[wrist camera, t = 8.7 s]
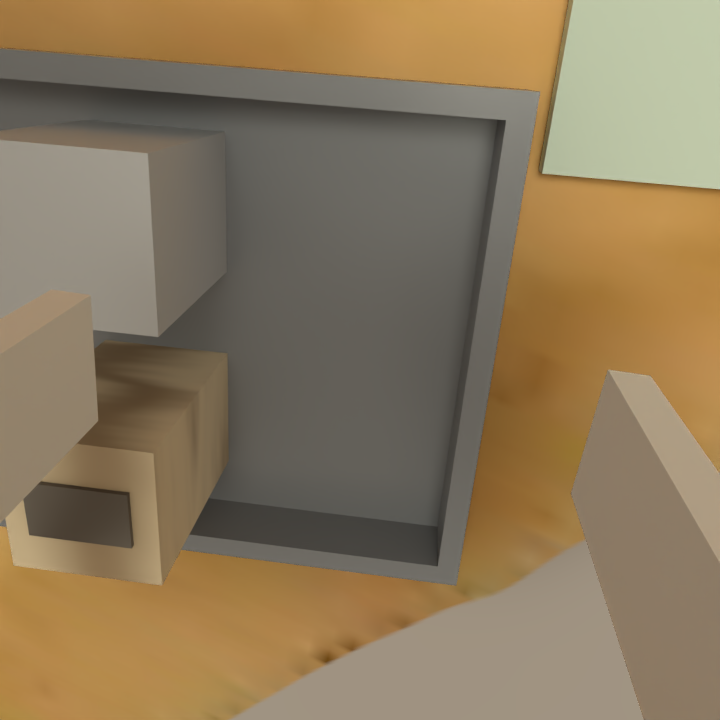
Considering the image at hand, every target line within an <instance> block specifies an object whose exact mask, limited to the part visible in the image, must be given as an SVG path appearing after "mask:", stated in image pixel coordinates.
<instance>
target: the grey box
mask: <svg viewBox="0 0 720 720" xmlns="http://www.w3.org/2000/svg"><path fill="white" fill-rule="evenodd" d="M226 272H227V258H226V166H225V132H222V131H211V130H199V129H188V128H176V127H164V126H153V125H141V124H130V123H118V122H107V121H95V120H78V121H71V122H63V123H56V124H48V125H41V126H33V127H25V128H18V129H10V130H3V131H0V319H1V318H3V317H4V316H6V315H8V314H10V313H11V312H13V311H15V310H17V309H18V308H20V307H22V306H24V305H25V304H27V303H29V302H31V301H32V300H34V299H36V298H37V297H39V296H41V295H43V294H44V293H46V292H48V291H50V290H51V289H52V290H59V291H66V292H73V293H80V294H87V295H91V309H92V326H93V330H98V331H107V332H117V333H126V334H135V335H144V336H153V337H159V336H160V335H161V334H162V333H163V332H164V331H165V330H166V329H167V328H168V327H169V326H170V325H172V324H173V323H174V322H175V321H176V320H177V319H178V318H179V317H180V316H181V315H182V314H183V313H184V312H185V311H186V310H187V309H188V308H189V307H190V306H191V305H193V304H194V303H195V302H196V301H197V300H198V299H199V298H200V297H201V296H202V295H203V294H204V293H205V292H206V291H207V290H208V289H209V288H210V287H211V286H212V285H214V284H215V283H216V282H217V281H218V280H219V279H220V278H221V277H222V276H223V275H224V274H225V273H226Z"/></svg>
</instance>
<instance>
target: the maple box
mask: <svg viewBox="0 0 720 720" xmlns="http://www.w3.org/2000/svg"><path fill="white" fill-rule="evenodd" d="M94 359H95V375H96V391H97V408H98V422H97V423H96V424H95V425H94V426H93V427H92V428H91V429H90V430H89V431H88V432H87V433H86V434H85V435H84V436H83V437H82V438H81V439H80V441H79V442H78V443H77V444H76V445H75V446H74V447H73V448H72V449H71V450H70V451H69V452H68V453H67V454H66V455H65V456H64V457H63V458H62V459H61V460H60V461H59V462H58V464H57V465H56V466H55V467H54V468H53V469H52V470H51V471H50V472H49V473H48V474H47V475H46V476H45V477H44V478H43V479H42V480H41V481H40V482H39V483H38V484H37V485H36V487H35V488H34V489H33V490H32V491H31V492H30V493H29V494H28V495H27V496H26V497H25V498H24V499H23V500H22V501H21V502H20V503H19V504H18V505H17V506H16V507H15V508H14V510H13V511H12V512H11V513H10V514H9V515H8V516H7V517H6V518H5V520H6V526H7V531H8V537H9V542H10V548H11V553H12V559H13V564H14V566H21V567H29V568H36V569H43V570H51V571H58V572H66V573H73V574H81V575H88V576H95V577H103V578H110V579H118V580H125V581H133V582H140V583H147V584H155V585H163V583H164V581H165V579H166V577H167V575H168V573H169V572H170V570H171V568H172V566H173V564H174V562H175V560H176V558H177V557H178V555H179V553H180V551H181V549H182V547H183V545H184V543H185V542H186V540H187V538H188V536H189V534H190V532H191V530H192V528H193V527H194V525H195V523H196V521H197V519H198V517H199V515H200V513H201V512H202V510H203V508H204V506H205V504H206V502H207V500H208V498H209V497H210V495H211V493H212V491H213V489H214V487H215V485H216V483H217V482H218V480H219V478H220V476H221V474H222V472H223V470H224V468H225V467H226V465H227V463H228V461H229V442H228V353H220V352H211V351H202V350H193V349H184V348H175V347H166V346H157V345H147V344H138V343H129V342H120V341H111V340H105V341H104V342H102V343H101V344H100V345H99V346H97V347H96V348H95V349H94Z"/></svg>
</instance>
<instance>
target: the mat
mask: <svg viewBox="0 0 720 720" xmlns="http://www.w3.org/2000/svg"><path fill="white" fill-rule="evenodd" d="M539 171H540V172H541V173H542V174H553V175H564V176H575V177H587V178H598V179H609V180H621V181H632V182H643V183H655V184H666V185H677V186H689V187H700V188H711V189H720V0H569V2H568V8H567V13H566V19H565V25H564V30H563V36H562V41H561V47H560V53H559V58H558V64H557V70H556V75H555V81H554V87H553V92H552V98H551V103H550V109H549V115H548V120H547V126H546V132H545V137H544V143H543V149H542V154H541V160H540V165H539Z"/></svg>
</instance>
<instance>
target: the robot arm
mask: <svg viewBox="0 0 720 720" xmlns="http://www.w3.org/2000/svg"><path fill="white" fill-rule="evenodd" d="M97 422H98V408H97V391H96V375H95V359H94V342H93V326H92V309H91V295H87V294H80V293H73V292H66V291H59V290H52V289H51V290H50V291H48V292H46V293H44V294H43V295H41V296H39V297H37V298H36V299H34V300H32V301H31V302H29V303H27V304H25V305H24V306H22V307H20V308H18V309H17V310H15V311H13V312H11V313H10V314H8V315H6V316H4V317H3V318H1V319H0V523H1V522H2V521H3V520H4V519H5V518H6V517H7V516H8V515H9V514H10V513H11V512H12V511H13V510H14V508H15V507H16V506H17V505H18V504H19V503H20V502H21V501H22V500H23V499H24V498H25V497H26V496H27V495H28V494H29V493H30V492H31V491H32V490H33V489H34V488H35V487H36V485H37V484H38V483H39V482H40V481H41V480H42V479H43V478H44V477H45V476H46V475H47V474H48V473H49V472H50V471H51V470H52V469H53V468H54V467H55V466H56V465H57V464H58V462H59V461H60V460H61V459H62V458H63V457H64V456H65V455H66V454H67V453H68V452H69V451H70V450H71V449H72V448H73V447H74V446H75V445H76V444H77V443H78V442H79V441H80V439H81V438H82V437H83V436H84V435H85V434H86V433H87V432H88V431H89V430H90V429H91V428H92V427H93V426H94V425H95V424H96V423H97ZM571 495H572V498H573V501H574V504H575V508H576V511H577V514H578V517H579V520H580V523H581V526H582V529H583V532H584V535H585V539H586V542H587V545H588V548H589V551H590V554H591V557H592V560H593V563H594V566H595V569H596V573H597V576H598V579H599V582H600V585H601V588H602V591H603V594H604V597H605V600H606V604H607V607H608V610H609V613H610V616H611V619H612V622H613V625H614V628H615V632H616V635H617V638H618V641H619V644H620V647H621V650H622V653H623V656H624V659H625V663H626V666H627V669H628V672H629V675H630V678H631V681H632V684H633V687H634V691H635V694H636V697H637V700H638V703H639V706H640V709H641V712H642V715H643V718H644V720H720V474H719V472H718V471H717V470H716V468H715V467H714V465H713V464H712V462H711V461H710V460H709V458H708V457H707V455H706V454H705V453H704V451H703V450H702V448H701V447H700V445H699V444H698V443H697V441H696V440H695V438H694V437H693V435H692V434H691V433H690V431H689V430H688V428H687V427H686V426H685V424H684V423H683V421H682V420H681V418H680V417H679V416H678V414H677V413H676V411H675V410H674V409H673V407H672V406H671V404H670V403H669V401H668V400H667V399H666V397H665V396H664V394H663V393H662V392H661V390H660V389H659V387H658V386H657V384H656V383H655V382H654V380H653V379H652V377H651V376H649V375H642V374H635V373H628V372H621V371H614V370H608V371H607V375H606V378H605V381H604V385H603V388H602V391H601V395H600V398H599V401H598V405H597V408H596V411H595V415H594V418H593V421H592V425H591V428H590V432H589V435H588V438H587V442H586V445H585V448H584V452H583V455H582V458H581V462H580V465H579V468H578V472H577V475H576V478H575V482H574V485H573V488H572V492H571Z"/></svg>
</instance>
